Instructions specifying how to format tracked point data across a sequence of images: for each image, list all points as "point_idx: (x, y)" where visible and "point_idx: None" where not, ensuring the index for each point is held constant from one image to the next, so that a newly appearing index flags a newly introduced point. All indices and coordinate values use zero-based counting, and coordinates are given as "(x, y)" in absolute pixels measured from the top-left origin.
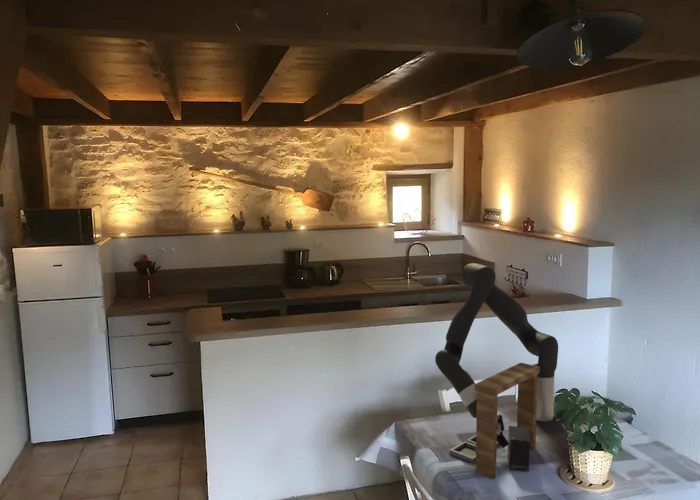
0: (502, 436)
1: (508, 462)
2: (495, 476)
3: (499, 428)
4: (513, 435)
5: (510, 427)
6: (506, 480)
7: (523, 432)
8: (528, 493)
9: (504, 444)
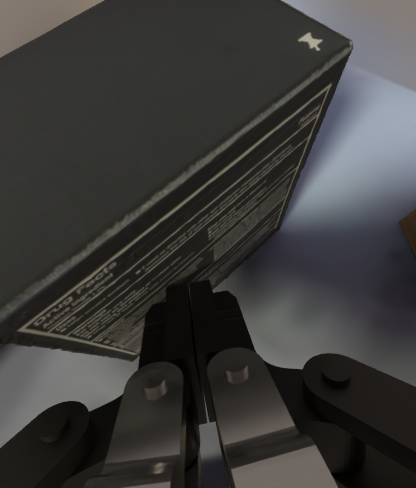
0: (191, 335)
1: (245, 255)
2: (406, 219)
3: (141, 441)
4: (243, 74)
5: (28, 262)
6: (366, 174)
7: (53, 67)
8: (350, 70)
9: (219, 293)
